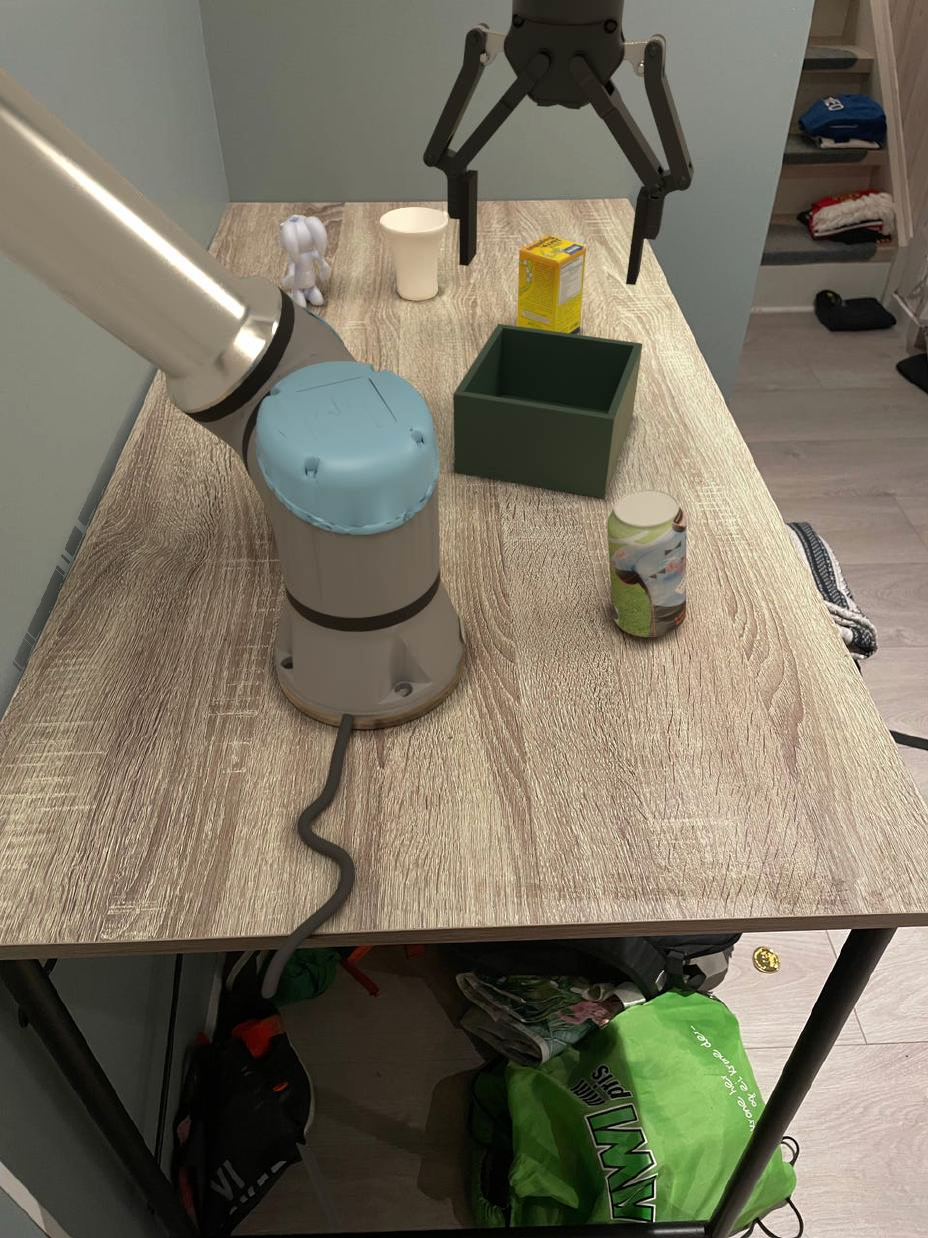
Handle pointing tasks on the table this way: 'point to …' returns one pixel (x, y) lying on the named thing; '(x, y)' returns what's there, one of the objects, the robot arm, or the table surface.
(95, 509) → the table surface
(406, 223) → the cup
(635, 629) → the beverage can
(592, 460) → the bin
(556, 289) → the supplement box
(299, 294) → the toy figurine
